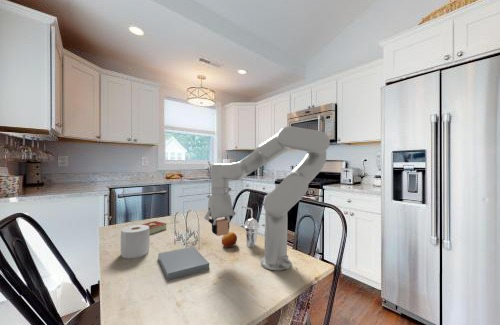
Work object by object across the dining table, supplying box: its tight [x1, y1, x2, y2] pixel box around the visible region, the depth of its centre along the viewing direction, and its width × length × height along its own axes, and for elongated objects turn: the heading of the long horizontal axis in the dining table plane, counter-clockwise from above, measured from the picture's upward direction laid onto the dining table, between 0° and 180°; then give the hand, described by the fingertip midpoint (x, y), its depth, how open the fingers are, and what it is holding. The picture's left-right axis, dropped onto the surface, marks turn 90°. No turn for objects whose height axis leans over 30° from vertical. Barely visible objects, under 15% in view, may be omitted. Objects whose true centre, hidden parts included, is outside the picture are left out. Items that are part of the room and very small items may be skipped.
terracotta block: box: [215, 217, 228, 237], centre depth 97 cm, size 5×5×6 cm
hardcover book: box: [141, 220, 168, 235], centre depth 133 cm, size 12×21×4 cm, turn 151°
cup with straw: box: [241, 206, 261, 248], centre depth 114 cm, size 8×9×20 cm
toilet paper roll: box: [120, 224, 151, 259], centre depth 103 cm, size 12×12×12 cm
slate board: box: [157, 246, 210, 281], centre depth 93 cm, size 20×16×2 cm
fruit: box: [221, 231, 238, 248], centre depth 113 cm, size 8×8×8 cm
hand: (220, 231), depth 97 cm, fingers closed on terracotta block, 5 cm apart
